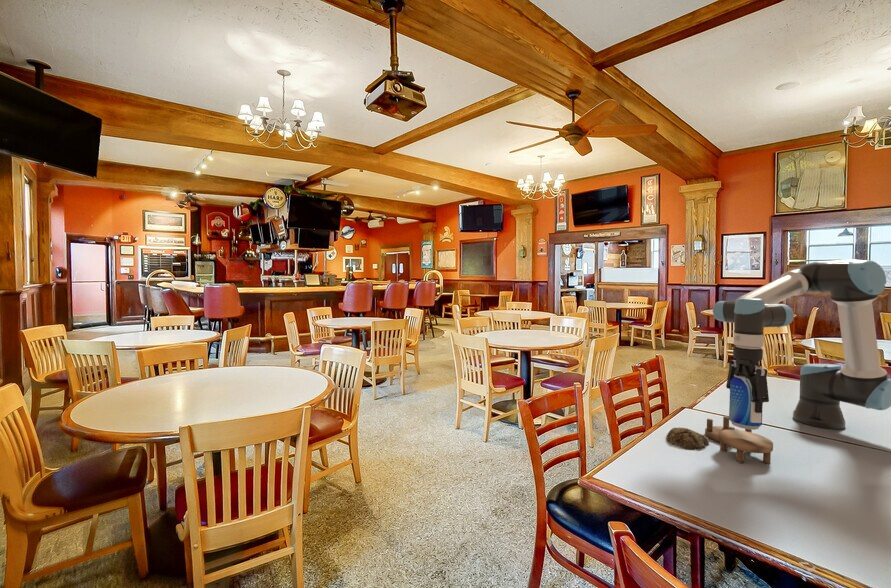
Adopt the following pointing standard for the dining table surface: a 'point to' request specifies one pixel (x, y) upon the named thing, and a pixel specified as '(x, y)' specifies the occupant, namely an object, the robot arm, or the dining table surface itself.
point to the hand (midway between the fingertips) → (745, 417)
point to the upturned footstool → (718, 429)
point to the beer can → (741, 403)
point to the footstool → (745, 444)
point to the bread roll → (687, 438)
